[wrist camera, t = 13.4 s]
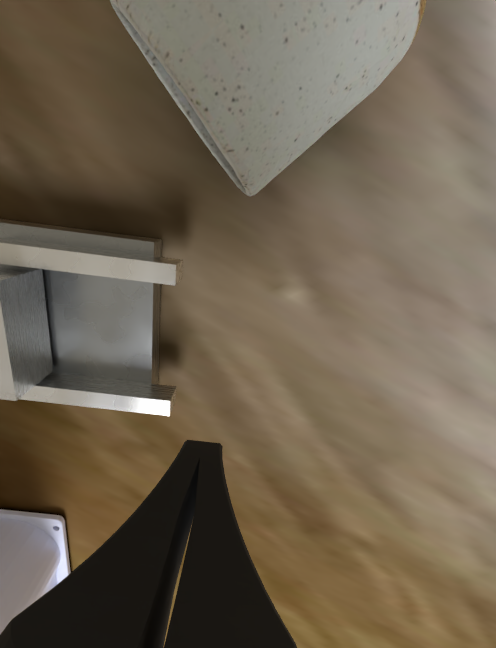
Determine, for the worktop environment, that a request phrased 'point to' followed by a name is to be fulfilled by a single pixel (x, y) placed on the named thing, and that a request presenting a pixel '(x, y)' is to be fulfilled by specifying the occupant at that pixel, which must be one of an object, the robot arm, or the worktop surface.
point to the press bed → (98, 314)
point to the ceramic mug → (269, 69)
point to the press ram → (22, 331)
